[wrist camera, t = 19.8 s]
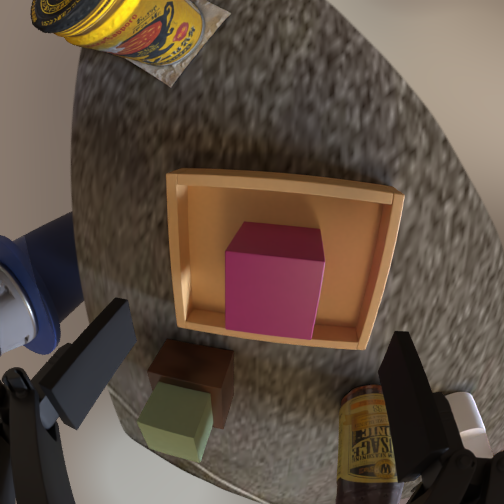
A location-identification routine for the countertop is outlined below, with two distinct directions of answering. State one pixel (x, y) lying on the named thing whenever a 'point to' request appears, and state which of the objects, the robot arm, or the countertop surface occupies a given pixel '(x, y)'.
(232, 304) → the mulberry block
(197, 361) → the walnut block
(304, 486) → the countertop surface
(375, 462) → the sauce bottle
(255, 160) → the countertop surface
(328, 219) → the oak tray
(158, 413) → the sage block
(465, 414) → the base with upright slab
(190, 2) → the condiment
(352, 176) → the countertop surface
